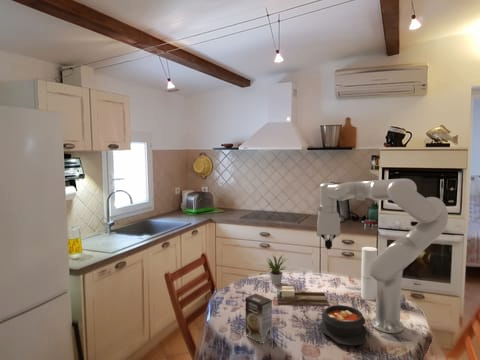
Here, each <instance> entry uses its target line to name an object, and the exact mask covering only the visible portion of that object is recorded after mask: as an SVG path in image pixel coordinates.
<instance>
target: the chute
mask: <svg viewBox="0 0 480 360" xmlns="http://www.w3.org/2000/svg"><path fill="white" fill-rule="evenodd" d="M325 294H326V293H325V292H324V291H323V292H322V291H305V290H300V291H295V298H282V290H280V288H276V299H277V302H276V303H277V305H282V306H283V305H286V306H287V305H289V306H292V305H293V306H299V305H300V306H325V307H329V306H328V305H329V303H328V298H326V295H325Z"/></svg>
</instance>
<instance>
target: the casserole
mask: <svg viewBox="0 0 480 360" xmlns="http://www.w3.org/2000/svg"><path fill="white" fill-rule="evenodd" d="M321 318H322V319H321V322H320V324H319V328H320V331H321V332H322V333H323V334H325V335H327V336H328V337H330V338H331V339H332V340H334V341H335V342H336V343H337V344H339V345H345V346H359V345H360V346H361V345H364V344H366V343H367V341H368V340H367V335H368V329H367V328H366V326H365V324H366V319H365V317H364V316H363V313H362V312H361V311H360V310H358V309H357V308H354V307H352V306H349V305H341V304H339V305H338V304H336V305H331V306H327V307H326V308H325V309H324V311H323V312H322V315H321Z"/></svg>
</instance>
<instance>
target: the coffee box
mask: <svg viewBox="0 0 480 360" xmlns="http://www.w3.org/2000/svg"><path fill="white" fill-rule="evenodd" d="M272 309H273V300H272V299H271V298H267V297H266V296H264V295H261V294H258V293H253V294H250V295H248V296H246V297H245V336H246V335H248V336H250V337H252V338H254V339H255V340H257V341H259V342H260V343H259V342H258V343H259V344H261V343H263V342H264V343H266V342H268V341H269V340H268V339H270V338H271V339H272V337H273V335H272V333H273V331H272V330H273V326H272V324H273V323H272V322H273V319H272V316H273V310H272ZM248 336H247V337H248ZM250 337H249V338H250ZM252 338H251V339H252ZM271 339H270V340H271ZM255 340H254V341H255ZM267 340H268V341H267ZM257 341H256V342H257ZM265 341H266V342H265ZM264 343H263V344H264Z"/></svg>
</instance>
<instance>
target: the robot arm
mask: <svg viewBox="0 0 480 360" xmlns="http://www.w3.org/2000/svg"><path fill="white" fill-rule="evenodd" d="M417 189H418V187H417V184H416V182H414V181H413V180H412V179H409V178H391V179H376V180H375V179H372V180H367V181H366V180H365V181H364V180H363V181H348V182H343V183H337V184H336V183H334V182H323V183H321V184H320V185H319V206H317V207H316V211H318V212H317V222H316V236H317V237H320V238H322V239H323V240H324V247H325V248H326V250H331V249H332V247H333V241H334V239H335V238H337V237H340V236H341V221H340V214H339V212H338V210H337V201H340V202H343V201H346V200H350V199H363V198H364V199H365V198H366V199H367V198H368V199H371V200H373V201H392V202H393V203H395V204H396V205H397V206H398V207H399V208H400V209H402V210H403V211H404V212H405V213H407V214H408V215H409V216H411V217H412V218H413V219H415V220H416V221H418V223H417V224H415V225H414V226H413V227H412V228H411V229H410V230H409V231H408V232H406V233H405V234H404V235H402V237H399V238H398V239H396V240H395V241H392V242H391V243H390V244H389V245H388V246H387V247H386V248H385V249H384V250H383V251H381V252H380V253H379V254H377V257H376V258H375V259H374V260H373V261H372V262H371V263H370V266H369V271H370V274H371V276H372V277H373V278H374V279H375V280H376V299H375V317H373V318H372V319H371V325H372V327H373V328H375V329H376V330H378V331H379V332H382V333H386V334H399V333H402V332H403V331H404V329H405V325H404V323H403V322H402V321H401V297H402V296H401V295H402V294H401V293H402V281H403V280H402V278H403V273H404V270H405V269H406V268H407V267H408V266H409V265H410V264H411V263H413V262H414V261H415V260H416V259H417V258H418V257H419V255H420V254H421V253H422V252H423V251H425V250H426V249H427V248H428V247H429V246H430V245H431V244H433V242H434V241H435V240H437V239H438V238H439V237H440V236H441V235H442V234H443V232H444V231H445V229H446V227H447V225H448V221H449V212H448V209H447V205H446V204H445V203H444V201H443V200H441V199H440V198H439V197H435V196H429V197H428V196H427V197H425V196H423V195H422V194H421V193H419V192H418V190H417ZM328 235H329V237H328Z"/></svg>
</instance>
